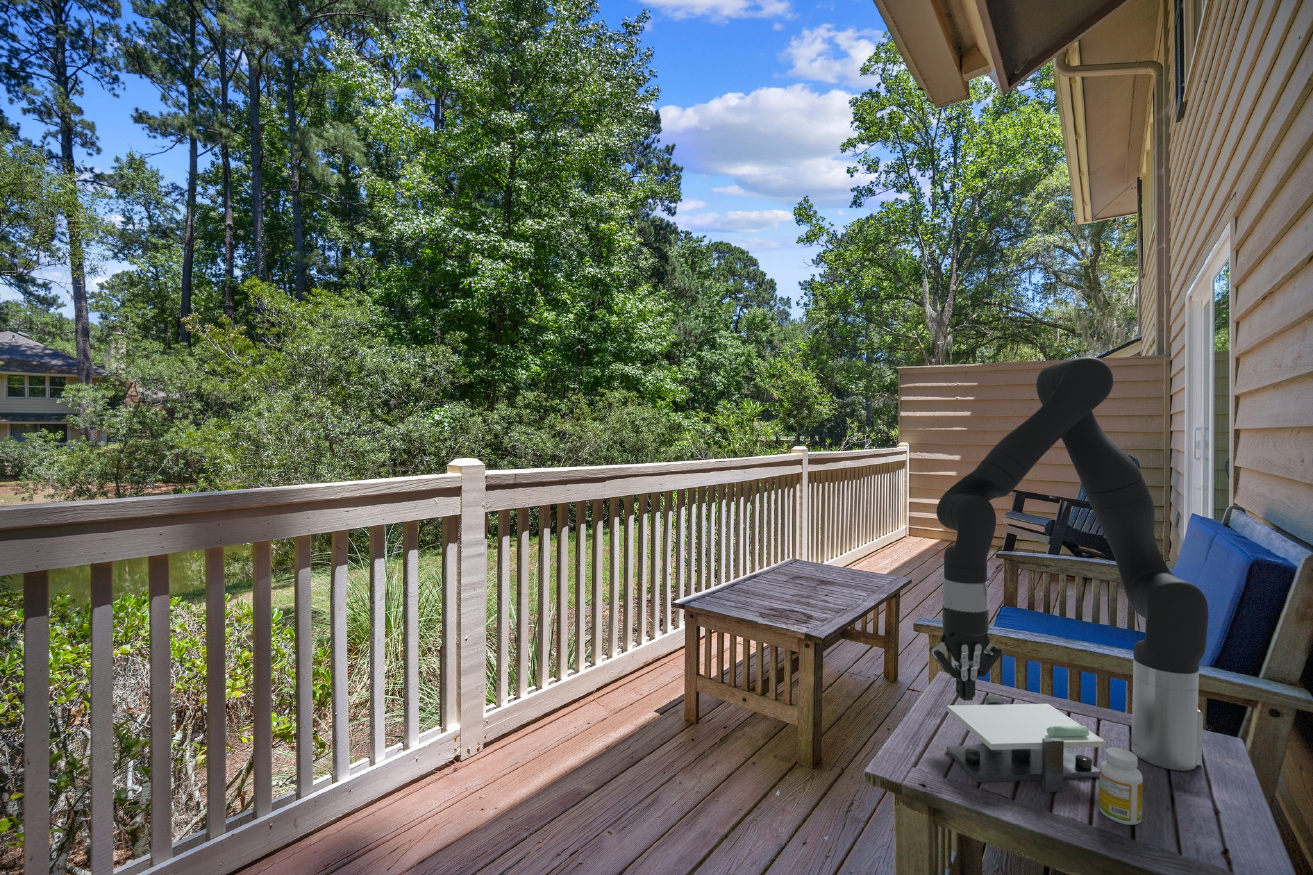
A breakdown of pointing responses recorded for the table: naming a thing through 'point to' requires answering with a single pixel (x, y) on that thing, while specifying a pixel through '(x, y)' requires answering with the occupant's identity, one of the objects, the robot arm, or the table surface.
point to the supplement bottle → (1121, 787)
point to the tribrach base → (1024, 761)
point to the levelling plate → (1022, 726)
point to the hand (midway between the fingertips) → (965, 698)
